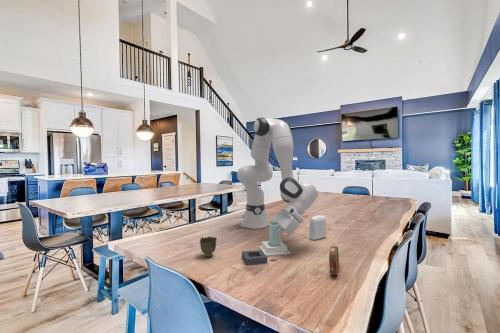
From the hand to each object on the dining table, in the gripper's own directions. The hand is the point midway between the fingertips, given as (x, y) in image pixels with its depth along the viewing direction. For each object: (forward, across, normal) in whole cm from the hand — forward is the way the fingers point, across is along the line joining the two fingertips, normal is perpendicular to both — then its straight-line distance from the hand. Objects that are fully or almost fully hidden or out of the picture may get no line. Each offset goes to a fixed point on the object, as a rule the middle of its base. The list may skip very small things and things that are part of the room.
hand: (273, 234), depth 123 cm
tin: (-6, +26, +18) cm, 32 cm away
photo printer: (-15, -12, +27) cm, 33 cm away
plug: (+3, 0, +4) cm, 5 cm away
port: (+5, 0, +6) cm, 8 cm away
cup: (+27, 0, -16) cm, 31 cm away
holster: (+14, +9, -2) cm, 17 cm away
